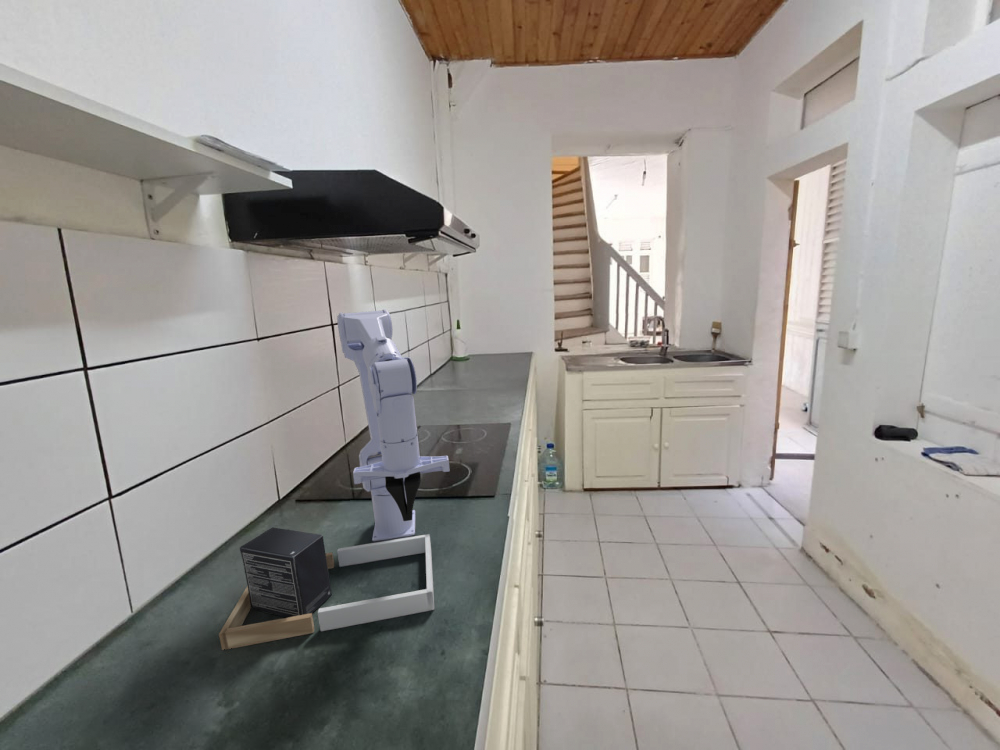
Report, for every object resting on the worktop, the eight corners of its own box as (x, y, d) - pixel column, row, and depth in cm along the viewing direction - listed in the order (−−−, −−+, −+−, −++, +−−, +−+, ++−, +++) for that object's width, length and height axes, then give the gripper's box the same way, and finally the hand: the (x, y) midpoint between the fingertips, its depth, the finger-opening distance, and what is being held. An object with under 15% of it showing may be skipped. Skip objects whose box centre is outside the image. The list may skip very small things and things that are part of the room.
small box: (335, 593, 67) (325, 532, 65) (304, 623, 61) (292, 558, 59) (283, 582, 71) (273, 524, 69) (249, 609, 65) (236, 547, 63)
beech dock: (263, 576, 72) (260, 563, 72) (334, 565, 74) (332, 552, 74) (222, 650, 57) (218, 634, 57) (313, 632, 59) (310, 617, 59)
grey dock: (340, 564, 74) (338, 548, 74) (431, 548, 77) (429, 533, 77) (320, 631, 59) (317, 612, 59) (434, 609, 62) (432, 591, 61)
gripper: (345, 452, 60) (357, 538, 63) (447, 439, 63) (455, 523, 65) (352, 436, 67) (363, 515, 70) (444, 425, 70) (451, 502, 72)
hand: (408, 517), depth 68 cm, fingers closed
